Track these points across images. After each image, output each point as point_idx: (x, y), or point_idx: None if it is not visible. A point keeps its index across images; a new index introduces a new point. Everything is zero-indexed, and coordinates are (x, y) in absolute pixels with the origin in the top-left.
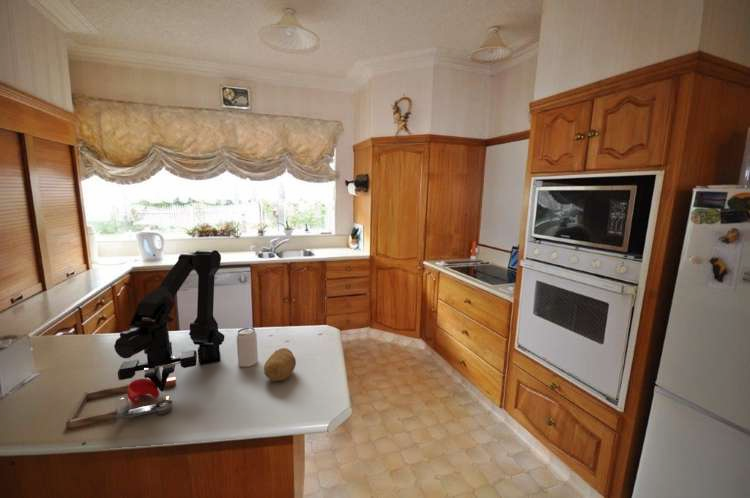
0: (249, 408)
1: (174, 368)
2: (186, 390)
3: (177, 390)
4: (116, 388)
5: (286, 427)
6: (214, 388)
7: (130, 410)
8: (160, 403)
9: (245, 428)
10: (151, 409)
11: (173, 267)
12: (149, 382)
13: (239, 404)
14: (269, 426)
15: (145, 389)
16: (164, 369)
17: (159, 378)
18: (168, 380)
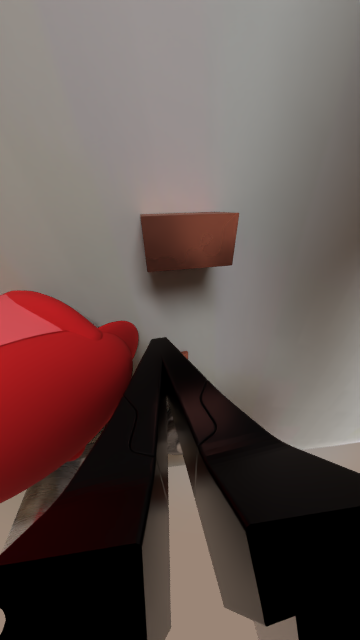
0: (347, 413)
1: (351, 543)
2: (256, 321)
3: (220, 310)
4: None
5: (352, 442)
6: (343, 334)
7: (76, 462)
8: (180, 446)
9: (312, 444)
10: None
11: None
12: (76, 444)
13: (343, 404)
14: (339, 441)
15: (82, 452)
16: (263, 634)
17: (165, 465)
18: (183, 262)
